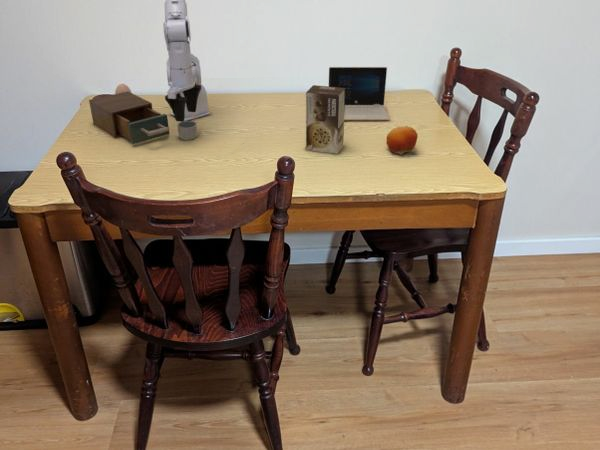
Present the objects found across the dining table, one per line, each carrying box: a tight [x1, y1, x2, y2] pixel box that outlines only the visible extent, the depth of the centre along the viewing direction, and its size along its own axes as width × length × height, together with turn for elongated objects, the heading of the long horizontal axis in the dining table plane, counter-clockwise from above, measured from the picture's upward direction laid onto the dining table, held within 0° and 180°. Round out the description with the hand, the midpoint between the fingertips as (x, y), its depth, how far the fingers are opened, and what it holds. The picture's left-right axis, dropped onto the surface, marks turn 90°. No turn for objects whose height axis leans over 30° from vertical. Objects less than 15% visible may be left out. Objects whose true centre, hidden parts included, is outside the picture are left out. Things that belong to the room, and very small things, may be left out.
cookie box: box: [305, 84, 346, 155], centre depth 147 cm, size 9×6×16 cm
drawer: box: [114, 107, 170, 145], centre depth 155 cm, size 18×11×6 cm, turn 42°
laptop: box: [328, 66, 390, 122], centre depth 171 cm, size 18×12×13 cm
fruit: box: [386, 125, 418, 156], centre depth 148 cm, size 8×8×8 cm
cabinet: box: [88, 91, 153, 139], centre depth 163 cm, size 14×12×7 cm
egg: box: [114, 83, 132, 94], centre depth 179 cm, size 5×5×7 cm
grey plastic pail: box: [176, 120, 199, 141], centre depth 157 cm, size 5×5×4 cm
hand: (186, 116), depth 155 cm, fingers open, 7 cm apart
